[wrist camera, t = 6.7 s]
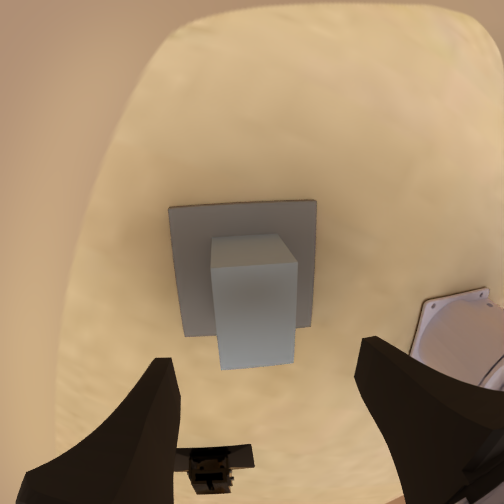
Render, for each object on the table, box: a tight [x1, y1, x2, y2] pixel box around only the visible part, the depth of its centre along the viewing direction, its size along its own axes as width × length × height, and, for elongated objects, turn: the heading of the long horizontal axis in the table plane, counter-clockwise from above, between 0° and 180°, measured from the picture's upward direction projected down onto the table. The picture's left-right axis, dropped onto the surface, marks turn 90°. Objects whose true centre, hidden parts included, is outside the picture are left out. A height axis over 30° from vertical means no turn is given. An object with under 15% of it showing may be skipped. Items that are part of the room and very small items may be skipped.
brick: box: [210, 234, 298, 370], centre depth 17 cm, size 4×6×5 cm, turn 2°
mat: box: [168, 200, 317, 337], centre depth 20 cm, size 9×9×1 cm
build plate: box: [174, 444, 255, 495], centre depth 25 cm, size 12×7×5 cm, turn 93°
